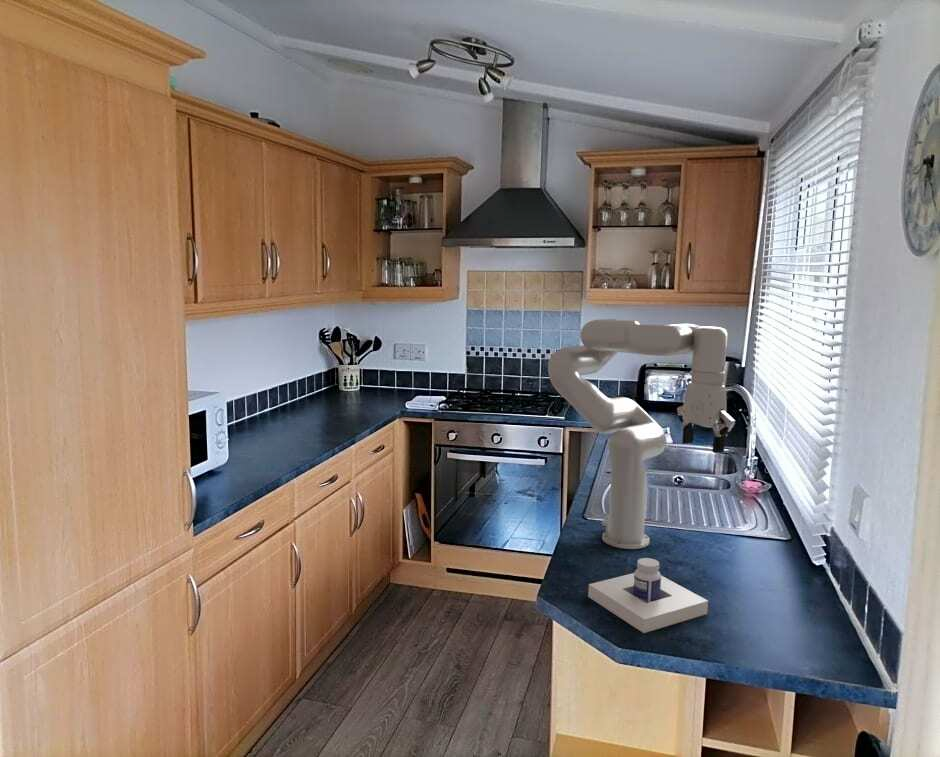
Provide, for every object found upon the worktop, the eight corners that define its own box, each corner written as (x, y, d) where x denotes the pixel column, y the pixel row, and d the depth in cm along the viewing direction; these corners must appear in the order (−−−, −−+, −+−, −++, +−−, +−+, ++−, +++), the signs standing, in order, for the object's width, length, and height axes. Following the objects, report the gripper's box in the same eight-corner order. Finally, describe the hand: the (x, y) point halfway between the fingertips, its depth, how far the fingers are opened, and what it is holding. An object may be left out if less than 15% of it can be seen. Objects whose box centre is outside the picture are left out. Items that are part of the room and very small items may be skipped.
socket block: (588, 596, 159) (588, 584, 159) (648, 581, 168) (649, 569, 167) (643, 633, 144) (644, 619, 143) (707, 613, 152) (708, 600, 152)
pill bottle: (655, 598, 159) (657, 556, 157) (662, 610, 153) (665, 567, 152) (629, 598, 159) (632, 556, 157) (636, 610, 153) (639, 567, 151)
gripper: (669, 374, 176) (665, 441, 179) (725, 384, 161) (719, 457, 164) (691, 372, 180) (687, 438, 182) (747, 382, 165) (742, 454, 167)
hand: (702, 447), depth 173 cm, fingers open, 9 cm apart
